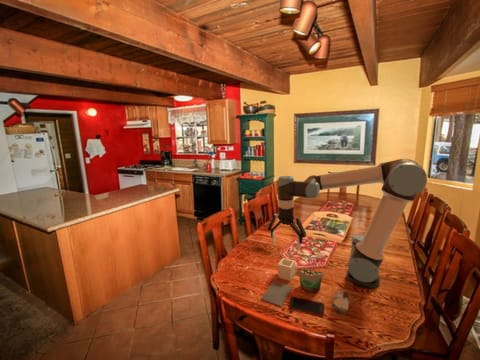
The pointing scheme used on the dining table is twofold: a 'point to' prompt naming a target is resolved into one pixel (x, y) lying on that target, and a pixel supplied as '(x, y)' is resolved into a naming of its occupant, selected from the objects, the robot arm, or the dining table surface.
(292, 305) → the cell phone
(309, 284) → the food container
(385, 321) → the dining table surface
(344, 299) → the silver round cylinder
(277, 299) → the felt pad
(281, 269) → the cup
